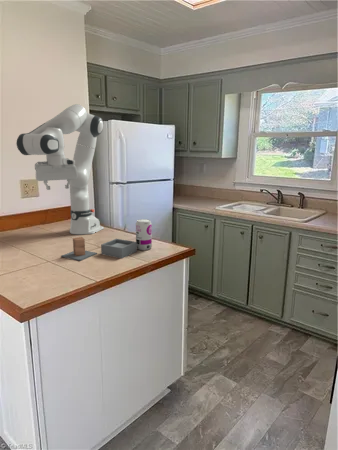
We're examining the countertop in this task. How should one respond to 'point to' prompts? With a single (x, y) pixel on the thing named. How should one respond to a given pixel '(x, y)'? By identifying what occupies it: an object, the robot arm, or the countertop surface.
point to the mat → (79, 258)
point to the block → (79, 246)
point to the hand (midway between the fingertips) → (57, 189)
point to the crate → (118, 248)
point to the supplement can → (143, 234)
